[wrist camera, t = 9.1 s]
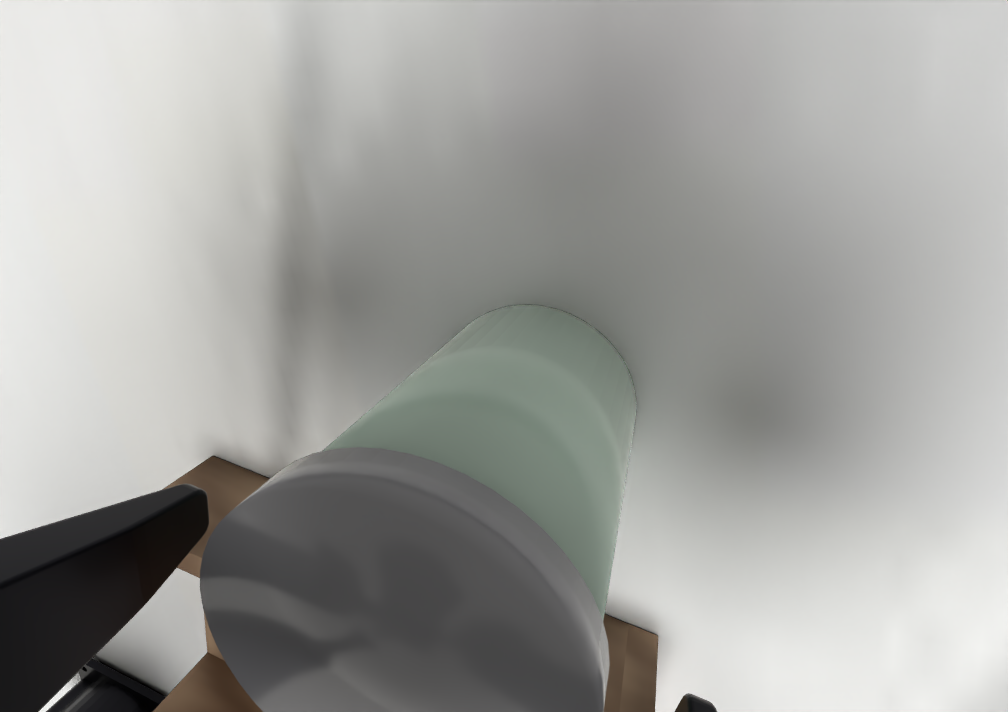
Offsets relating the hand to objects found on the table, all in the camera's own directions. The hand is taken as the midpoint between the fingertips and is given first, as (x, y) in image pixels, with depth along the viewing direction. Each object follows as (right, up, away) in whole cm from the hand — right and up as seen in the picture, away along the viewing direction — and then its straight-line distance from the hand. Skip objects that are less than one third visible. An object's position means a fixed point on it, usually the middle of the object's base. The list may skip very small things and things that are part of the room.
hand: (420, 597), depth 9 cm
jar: (+2, +3, +7) cm, 8 cm away
